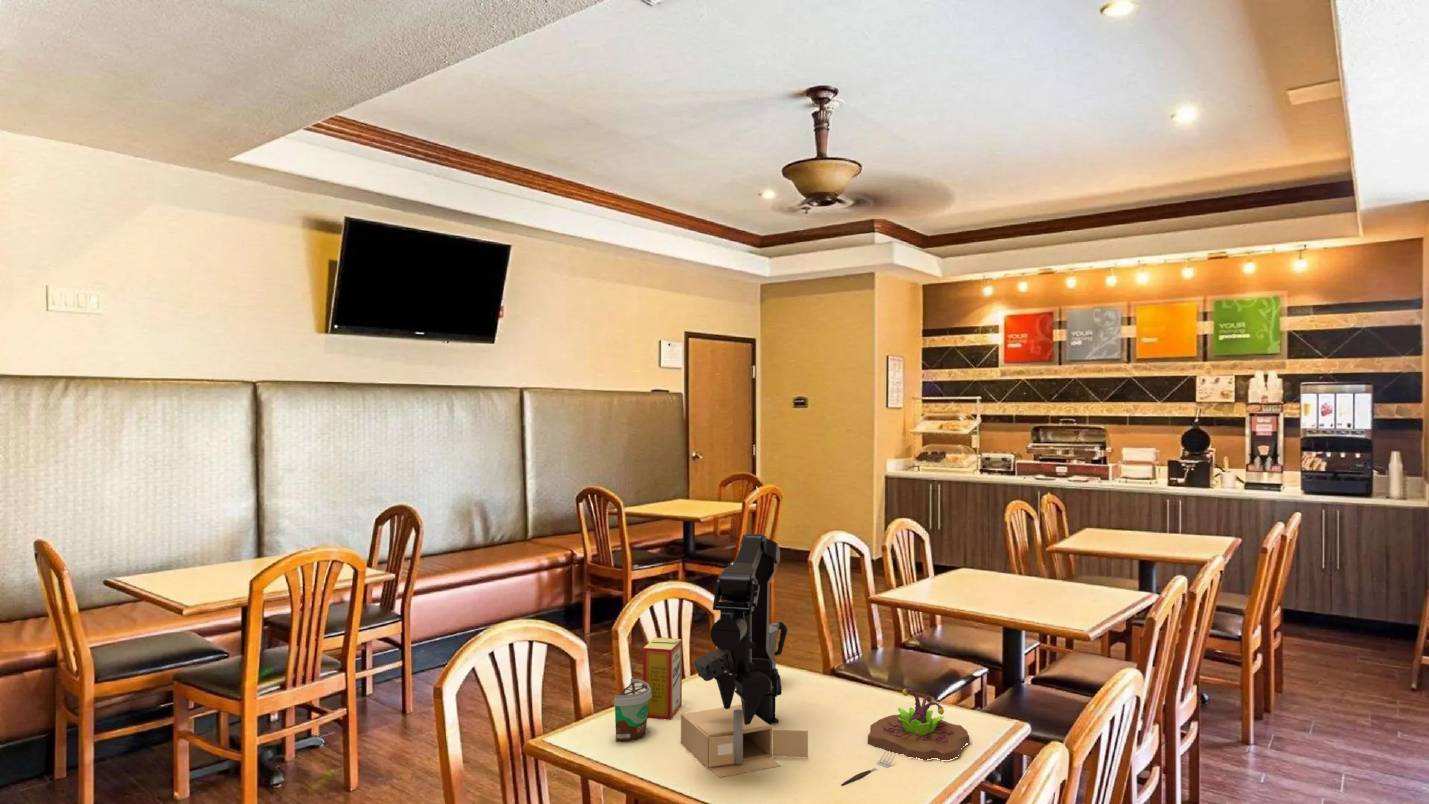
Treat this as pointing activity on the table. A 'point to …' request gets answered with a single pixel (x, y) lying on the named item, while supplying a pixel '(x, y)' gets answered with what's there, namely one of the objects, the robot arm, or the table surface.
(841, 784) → the fork
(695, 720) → the carton
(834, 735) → the table surface
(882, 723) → the plant
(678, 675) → the baking soda box
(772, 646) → the coffeepot
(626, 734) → the food container
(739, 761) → the flap
